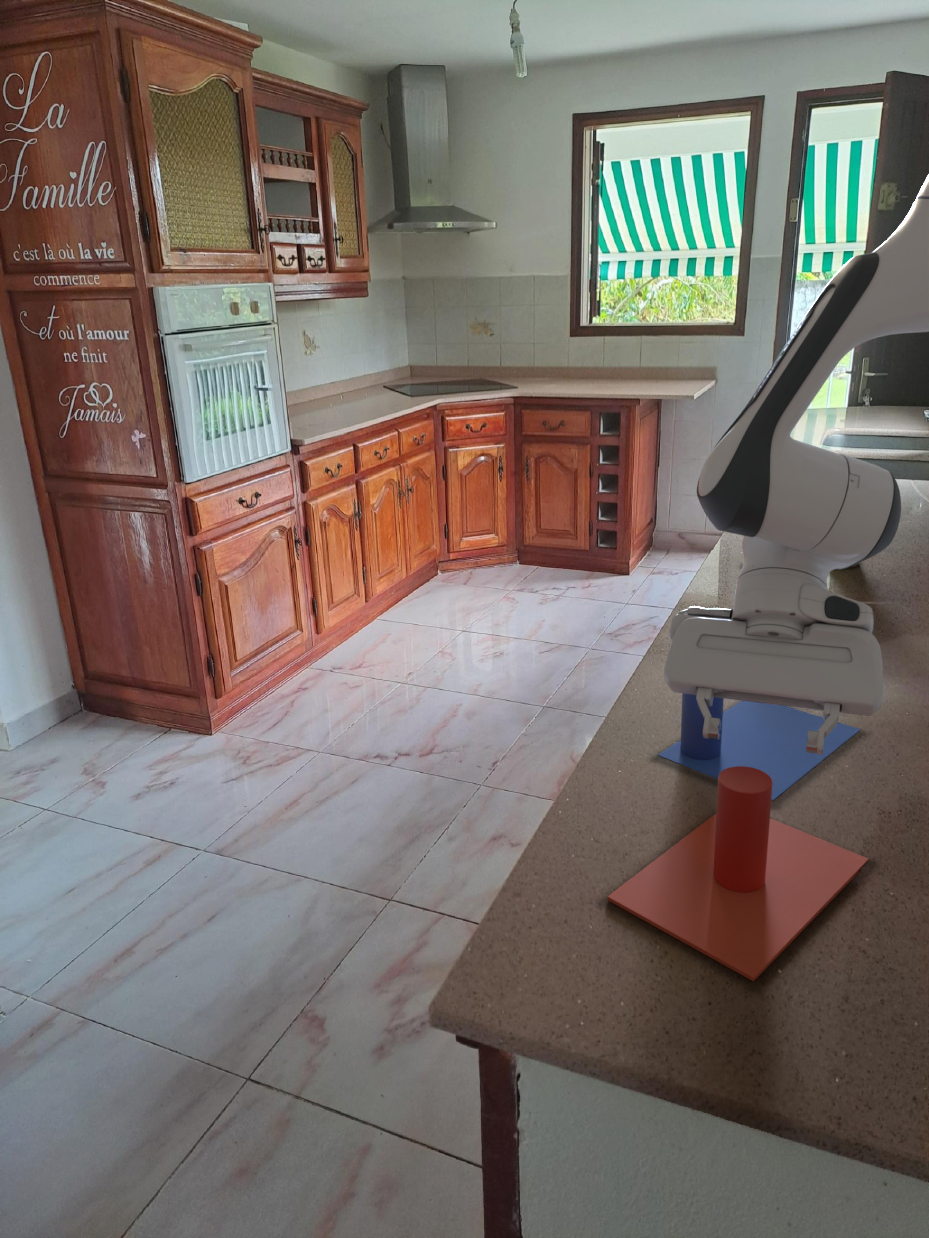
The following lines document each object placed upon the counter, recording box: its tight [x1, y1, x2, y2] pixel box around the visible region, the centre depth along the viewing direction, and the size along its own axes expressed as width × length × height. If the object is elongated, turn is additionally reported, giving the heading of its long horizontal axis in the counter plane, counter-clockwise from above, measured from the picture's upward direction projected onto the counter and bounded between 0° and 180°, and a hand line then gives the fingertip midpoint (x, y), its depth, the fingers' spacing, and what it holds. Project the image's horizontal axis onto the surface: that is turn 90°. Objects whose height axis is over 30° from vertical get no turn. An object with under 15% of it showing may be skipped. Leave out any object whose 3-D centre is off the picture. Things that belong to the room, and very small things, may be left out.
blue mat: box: [657, 700, 861, 802], centre depth 100 cm, size 14×20×1 cm
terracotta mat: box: [606, 813, 870, 982], centre depth 78 cm, size 14×20×1 cm
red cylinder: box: [713, 766, 773, 893], centre depth 76 cm, size 4×4×10 cm
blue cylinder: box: [680, 693, 725, 760], centre depth 97 cm, size 4×4×10 cm
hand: (761, 744), depth 84 cm, fingers open, 8 cm apart
